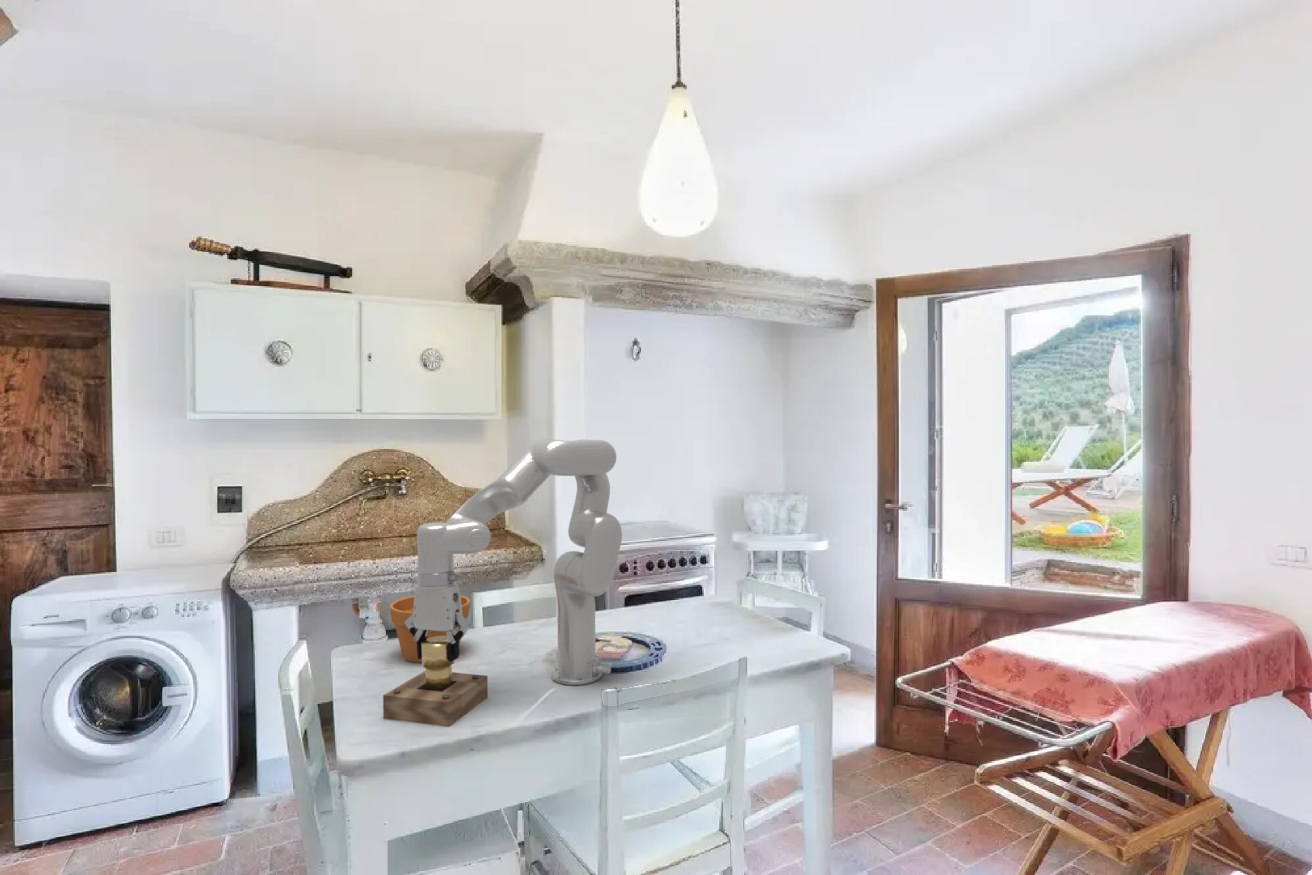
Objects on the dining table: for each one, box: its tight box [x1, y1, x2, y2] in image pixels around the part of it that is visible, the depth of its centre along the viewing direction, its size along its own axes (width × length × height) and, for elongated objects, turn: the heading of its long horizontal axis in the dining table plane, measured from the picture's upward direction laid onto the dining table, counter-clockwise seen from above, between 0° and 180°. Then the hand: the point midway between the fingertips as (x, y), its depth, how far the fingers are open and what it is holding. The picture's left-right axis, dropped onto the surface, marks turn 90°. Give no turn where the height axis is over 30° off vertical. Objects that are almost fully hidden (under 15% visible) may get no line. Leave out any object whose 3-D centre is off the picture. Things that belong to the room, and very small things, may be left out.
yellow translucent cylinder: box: [421, 636, 456, 691], centre depth 154 cm, size 7×7×10 cm
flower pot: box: [389, 594, 471, 664], centre depth 193 cm, size 21×21×15 cm
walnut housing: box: [382, 670, 489, 727], centre depth 154 cm, size 16×16×6 cm
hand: (438, 657), depth 154 cm, fingers closed on yellow translucent cylinder, 7 cm apart
